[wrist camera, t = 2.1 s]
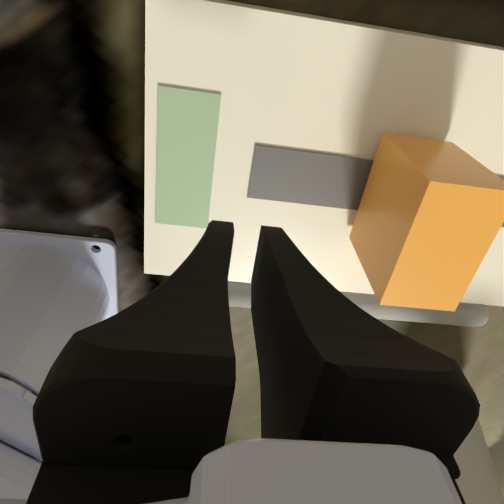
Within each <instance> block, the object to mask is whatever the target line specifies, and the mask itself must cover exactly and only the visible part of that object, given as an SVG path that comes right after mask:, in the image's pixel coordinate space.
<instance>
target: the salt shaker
mask: <svg viewBox="0 0 504 504" xmlns="http://www.w3.org/2000/svg"><path fill="white" fill-rule="evenodd" d="M453 456H454V458H455V460H456V462H457V465H458V467H459V469H460V477H459V478H458V479H455V480H456V483H457V485H458V487H459V489H460V492H461V494H462V496H463V498H464V501H465V503H466V504H504V497H503V494H502V492H501V489H500V486H499V483H498V480H497V477H496V474H495V470H494V467H493V464H492V461H491V458H490V455H489V451H488V448H487V445H486V442H485V438H484V435H483V432H482V429H481V426H480V422H479V419H477V420H476V422H475V424H474V426H473V428H472V430H471V431H470V433H469V434H468V436H467V437H466V438H465V440H464V441H463V442H462V444H461V445H460V447H459V448H458V449H457V451H456V452H455V453H454V455H453Z"/></svg>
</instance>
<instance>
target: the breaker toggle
mask: <svg viewBox="0 0 504 504" xmlns="http://www.w3.org/2000/svg"><path fill="white" fill-rule="evenodd" d="M503 222H504V180H502V179H501V178H500V177H498V176H497V175H496V174H494V173H493V172H492V171H490V170H489V169H488V168H486V167H485V166H484V165H482V164H481V163H480V162H478V161H477V160H476V159H474V158H473V157H472V156H470V155H469V154H468V153H466V152H465V151H464V150H462V149H461V148H459V147H458V146H457V145H455V144H454V143H453V142H448V141H441V140H433V139H426V138H419V137H412V136H404V135H397V134H390V133H382V137H381V140H380V143H379V146H378V149H377V152H376V155H375V158H374V162H373V165H372V168H371V171H370V174H369V177H368V180H367V183H366V186H365V190H364V193H363V196H362V199H361V202H360V205H359V208H358V211H357V215H356V218H355V221H354V224H353V227H352V230H351V233H350V236H349V238H350V241H351V243H352V245H353V247H354V249H355V252H356V254H357V256H358V258H359V261H360V263H361V265H362V267H363V269H364V272H365V274H366V276H367V278H368V281H369V283H370V285H371V287H372V289H373V292H374V294H375V296H376V298H377V301H378V303H379V305H387V306H398V307H409V308H420V309H432V310H443V311H454V312H455V310H456V308H457V306H458V305H459V303H460V301H461V299H462V297H463V295H464V294H465V292H466V290H467V288H468V286H469V284H470V283H471V281H472V279H473V277H474V275H475V273H476V272H477V270H478V268H479V266H480V264H481V262H482V261H483V259H484V257H485V255H486V253H487V251H488V250H489V248H490V246H491V244H492V242H493V241H494V239H495V237H496V235H497V233H498V231H499V230H500V228H501V226H502V224H503Z"/></svg>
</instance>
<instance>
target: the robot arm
mask: <svg viewBox="0 0 504 504" xmlns="http://www.w3.org/2000/svg"><path fill="white" fill-rule="evenodd" d="M233 239H234V224H233V222H226V221H216V220H212V221H211V222H209V223H208V226H207V229H206V231H205V233H204V234H203V236H202V238H201V239H200V241H199V242H198V244H197V245H196V246H195V248H194V249H193V251H192V252H191V253H190V255H189V256H188V257H187V258H186V259H185V260H184V261H183V263H182V264H181V265H180V266H179V267H178V268H177V269H176V270H175V271H174V272H173V273H172V274H171V275H170V276H169V277H168V278H167V279H166V280H165V281H164V282H163V283H161V284H160V285H159V286H158V287H157V288H155V289H154V290H153V291H151V292H150V293H149V294H147V295H146V296H145V297H143V298H142V299H141V300H139V301H138V302H136V303H135V304H133V305H131V306H129V307H128V308H126V309H124V310H123V311H121V312H119V309H118V283H117V258H116V245H115V244H114V242H112V241H111V240H108V239H101V238H91V237H81V236H71V235H61V234H51V233H41V232H31V231H21V230H11V229H1V228H0V504H466V503H465V501H464V498H463V496H462V494H461V492H460V489H459V487H458V485H457V483H456V480H455V479H458V478H459V477H460V469H459V467H458V465H457V462H456V460H455V458H454V456H453V455H454V453H455V452H456V451H457V449H458V448H459V447H460V445H461V444H462V442H463V441H464V440H465V438H466V437H467V436H468V434H469V433H470V431H471V430H472V428H473V426H474V424H475V422H476V420H477V419H478V417H479V409H480V404H479V402H478V399H477V397H476V394H475V393H474V391H473V389H472V388H471V386H470V384H469V382H468V381H467V379H466V377H465V376H464V374H463V372H462V370H461V369H460V367H459V365H458V364H457V362H456V361H455V360H454V359H452V358H449V357H447V356H445V355H443V354H441V353H439V352H437V351H434V350H432V349H430V348H428V347H426V346H424V345H421V344H419V343H417V342H415V341H413V340H412V339H410V338H408V337H406V336H404V335H402V334H401V333H399V332H397V331H395V330H393V329H392V328H390V327H389V326H387V325H385V324H384V323H382V322H380V321H379V320H377V319H376V318H374V317H373V316H371V315H370V314H368V313H367V312H365V311H364V310H363V309H361V308H360V307H358V306H357V305H356V304H354V303H353V302H352V301H351V300H349V299H348V298H347V297H346V296H345V295H343V294H342V293H341V292H340V291H338V290H337V289H336V288H335V287H334V286H333V285H332V284H331V283H330V282H329V281H328V280H327V279H326V278H325V277H323V276H322V275H321V274H320V273H319V272H318V271H317V269H316V268H315V267H314V266H313V265H312V264H311V263H310V262H309V261H308V260H307V258H306V257H305V256H304V255H303V254H302V253H301V251H300V250H299V249H298V248H297V246H296V245H295V244H294V243H293V241H292V240H291V239H290V238H289V236H288V235H287V234H286V233H285V231H284V230H283V229H282V228H281V227H272V226H263V225H261V229H260V234H259V240H258V245H257V251H256V256H255V262H254V267H253V273H252V278H251V311H252V319H253V327H254V335H255V342H256V350H257V357H258V364H259V373H260V389H261V439H252V440H243V441H233V442H231V443H229V444H227V445H225V446H224V443H225V437H226V432H227V427H228V421H229V416H230V411H231V405H232V400H233V395H234V389H235V382H236V361H235V352H234V347H233V340H232V333H231V324H230V313H229V298H228V274H229V267H230V260H231V253H232V246H233ZM93 245H97V246H99V247H100V249H95V248H94V247H93Z"/></svg>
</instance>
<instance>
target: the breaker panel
mask: <svg viewBox="0 0 504 504" xmlns="http://www.w3.org/2000/svg"><path fill="white" fill-rule="evenodd" d="M382 133H390V134H397V135H404V136H412V137H419V138H426V139H433V140H441V141H448V142H453V143H454V144H455V145H457V146H458V147H459V148H461V149H462V150H464V151H465V152H466V153H468V154H469V155H470V156H472V157H473V158H474V159H476V160H477V161H478V162H480V163H481V164H482V165H484V166H485V167H486V168H488V169H489V170H490V171H492V172H493V173H494V174H496V175H497V176H498V177H500V178H501V179H502V180H504V47H501V46H495V45H489V44H483V43H477V42H471V41H465V40H459V39H453V38H448V37H442V36H436V35H430V34H424V33H418V32H412V31H406V30H400V29H394V28H388V27H382V26H376V25H370V24H364V23H359V22H353V21H347V20H341V19H335V18H329V17H323V16H317V15H311V14H305V13H299V12H293V11H287V10H281V9H276V8H270V7H264V6H258V5H252V4H246V3H240V2H234V1H228V0H145V185H144V273H147V274H157V275H168V276H170V275H171V274H172V273H173V272H174V271H175V270H176V269H177V268H178V267H179V266H180V265H181V264H182V263H183V261H184V260H185V259H186V258H187V257H188V256H189V255H190V253H191V252H192V251H193V249H194V248H195V246H196V245H197V244H198V242H199V241H200V239H201V238H202V236H203V234H204V233H205V231H206V229H207V226H208V223H209V222H211V221H212V220H216V221H226V222H233V224H234V239H233V246H232V253H231V260H230V267H229V274H228V281H234V282H245V283H251V278H252V273H253V267H254V262H255V256H256V251H257V245H258V240H259V234H260V229H261V225H263V226H272V227H281V228H282V229H283V230H284V231H285V233H286V234H287V235H288V236H289V238H290V239H291V240H292V241H293V243H294V244H295V245H296V246H297V248H298V249H299V250H300V251H301V253H302V254H303V255H304V256H305V257H306V258H307V260H308V261H309V262H310V263H311V264H312V265H313V266H314V267H315V268H316V269H317V271H318V272H319V273H320V274H321V275H322V276H323V277H325V278H326V279H327V280H328V281H329V282H330V283H331V284H332V285H333V286H334V287H335V288H336V289H337V290H338V291H343V292H353V293H364V294H374V292H373V289H372V287H371V285H370V283H369V281H368V278H367V276H366V274H365V272H364V269H363V267H362V265H361V263H360V261H359V258H358V256H357V254H356V252H355V249H354V247H353V245H352V243H351V241H350V238H349V236H350V233H351V230H352V227H353V224H354V221H355V218H356V215H357V211H358V208H359V205H360V202H361V199H362V196H363V193H364V190H365V186H366V183H367V180H368V177H369V174H370V171H371V168H372V165H373V162H374V158H375V155H376V152H377V149H378V146H379V143H380V140H381V137H382ZM460 302H462V303H473V304H484V305H495V306H504V222H503V224H502V226H501V228H500V230H499V231H498V233H497V235H496V237H495V239H494V241H493V242H492V244H491V246H490V248H489V250H488V251H487V253H486V255H485V257H484V259H483V261H482V262H481V264H480V266H479V268H478V270H477V272H476V273H475V275H474V277H473V279H472V281H471V283H470V284H469V286H468V288H467V290H466V292H465V294H464V295H463V297H462V299H461V301H460Z"/></svg>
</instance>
